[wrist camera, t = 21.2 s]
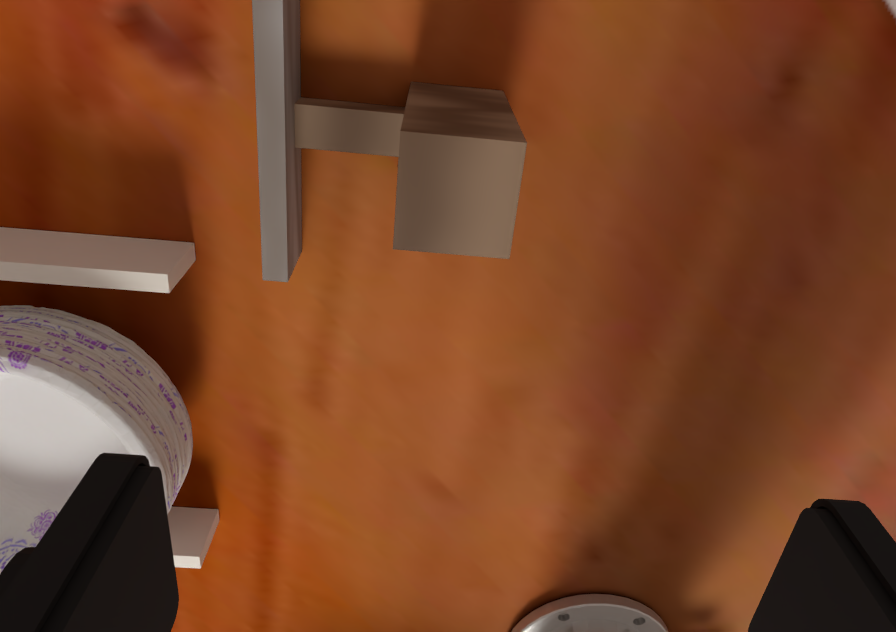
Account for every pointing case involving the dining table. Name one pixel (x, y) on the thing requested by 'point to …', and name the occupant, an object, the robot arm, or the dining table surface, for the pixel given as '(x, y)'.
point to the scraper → (385, 153)
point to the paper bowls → (76, 415)
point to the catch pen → (112, 268)
